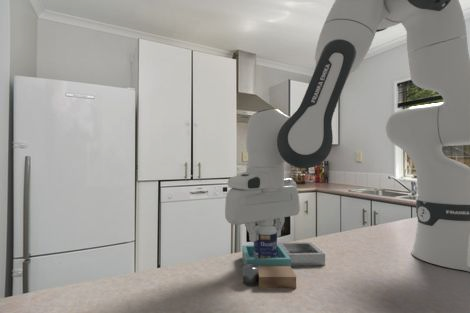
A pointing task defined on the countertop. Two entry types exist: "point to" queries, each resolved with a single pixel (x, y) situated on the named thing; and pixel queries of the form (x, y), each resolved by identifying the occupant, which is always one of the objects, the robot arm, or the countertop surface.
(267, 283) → the tan cardboard-like brick
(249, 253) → the tray
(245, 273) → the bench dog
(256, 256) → the pill bottle
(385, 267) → the countertop surface
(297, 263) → the collar
